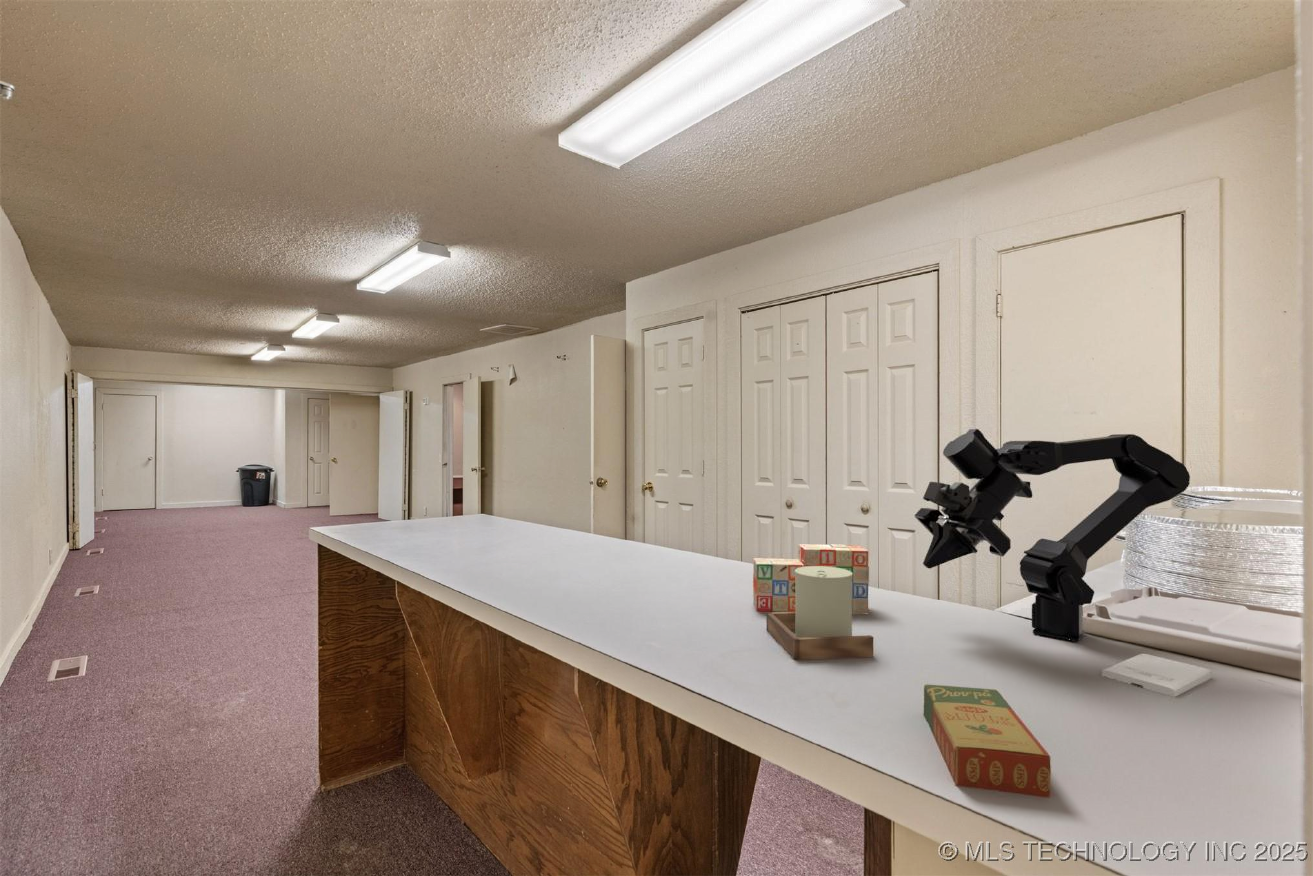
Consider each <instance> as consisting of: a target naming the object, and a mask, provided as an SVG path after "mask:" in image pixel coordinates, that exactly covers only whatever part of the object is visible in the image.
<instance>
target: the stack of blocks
mask: <svg viewBox="0 0 1313 876" xmlns="http://www.w3.org/2000/svg"><path fill="white" fill-rule="evenodd" d="M797 547H798V551H797V558H773V557H772V558H765V557H764V558H763V557H762V558H761V557H760V558H759V557H754V558H753V568H752V569H753V574H752V575H753V577H752V579H753V581H752V583H753V585H752V587H753V591H752V593H753V595H752V597H753V602H752V603H753V605H754V608H755V611H756V610H757V612H758V611H759V612H760V611H761V612H779V611H780V612H795V569H797V568H799V567H805V566H828V567H836V568H842V569H846V570H848V571H851V572H852V573H853V576H852V613H868V614H869V582H870V566H869V550H868V549H867V548H864V547H862V546H861V545H846V544H843V543H842V544H839V543H836V544H834V543H833V544H832V543H830V544H813V543H811V544H810V543H809V544H807V543H806V544H805V543H804V544H803V543H798V546H797Z"/></svg>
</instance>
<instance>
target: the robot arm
mask: <svg viewBox="0 0 1313 876" xmlns="http://www.w3.org/2000/svg"><path fill="white" fill-rule="evenodd" d="M942 455H943V456H944V457H945V458H946V460H948V461H949V462H950V463H951V464H952V465H953V467H954V468H955V469H957V471H958V472H959V473H960V474H961V475H962V476H963V477H964V478H965V479H967V480H973V479H975V480H977V481H976V483H975V484H973V486H972V487H971V489H970V485H968V484H965V483H964V482H956V481H955V482H953V483H952V484H951V485H950V484H947V483H943V482H937V481H929V483H928V486H927V488H926V489H925V492H924V495H923V497H922V500H924V501H927V502H931V503H933V504H936V505H938V506H940V507H942V508H941V509H940V510H941V511H940V510H939V509H935V508H931V507H921V508H919V510H918V511H917V512H916V513H915V514H914V518H915V519H916V520H917V521H918V522H919V523H920V524H921V525H922V526H923V527H924V528H925V529H926V530H927V531H928V532H929V533H930V534H931V535H932V539H931V543H930V544H929V548H928V550H927V553H926V555H925V557H924V560H923V562H922V565H923V566H924V567H925V568H926V569H933V568H936V567H937V566H939V565H943V564H945V563H948V562H950V561H953V560H956V559H958V558H961V557H964V556H967V555H970V554H976V553H978V551H979V550H978V549H977V546H978V545H979V544H980V543H984V541H985V542H987V543H988V544H989V552H990V553H991V554H992V555H996V556H1000V557H1003V558H1004V556H1005V555H1006V554H1007V553H1008V551H1009V550H1010V549H1011V545H1012V544H1011V543H1012V542H1011V538H1010V537H1009V536H1008V535H1007V534H1006V533H1005V532H1004V531H1003V530H1002V529H1001V528H1000V527H999V526H998V525H997V524H996V523H995V521H1002V520H1003V519H1004V517H1005V515H1004V514H1003V513H1002V511H1003V510H1004V509H1005V508H1006V507H1007V506H1008V504H1010V502H1011V501H1013V499H1014V498H1015V497H1017V498H1026V499H1031V498H1033V491H1032V489H1031V482H1030V481H1024V480H1022V478H1021V477H1019V476H1018V475H1029V476H1030V475H1031V476H1032V475H1033V476H1040V475H1044V474H1047V473H1051V472H1054V471H1057V470H1058V469H1059V468H1062V467H1063V466H1066V465H1068V464H1069V465H1070V464H1081V463H1086V462H1096V461H1103V460H1112V464H1113V466H1114V468H1115V471H1116V472H1118V473H1119V475H1120V477H1119V480H1118V489H1116V491H1115V492H1114V493H1112V494H1111V495H1110V496H1109V497H1108V498H1107V499H1105V500H1104V501H1103V502H1102V503H1100V505H1098V507H1096V508H1095V509H1094V510H1093V511H1092V512H1091V513H1090V514H1088V515H1087V516H1086V517H1085V518H1084V519H1082V520H1081V521H1080V522H1079V523H1078V524H1077V525H1076V526H1075V527H1073V528H1072V529H1071V530H1070V531H1069V532H1067V533H1066V535H1064V536H1063V537H1062V538H1060V539H1059V540H1052V539H1048V538H1047V539H1046V538H1040V539H1038V540H1037V541H1036V542H1035V543H1034V544H1033V546H1032V547H1031V548H1029V549H1027V550H1024V551H1023V554H1024V555H1023V557H1022V559H1021V560H1020V561H1019V572H1020V576H1021V577H1022V580H1023V581H1024V583H1025V585H1026V589H1027V591H1028V592H1029V593H1031V594H1036V595H1035V600H1034V602H1033V603H1032V604H1031V627H1032V634H1034V635H1039V636H1043V635H1046V636H1045V637H1049V636H1050V638H1054V637H1057V638H1056V639H1059V638H1062V639H1061V640H1064V639H1070V640H1074V641H1073V642H1075V641H1079V642H1080V641H1081V639H1082V638H1083V637H1084V636H1085V634H1086V631H1085V630H1083V606H1084V605H1090V604H1091V603H1092V601H1093V598H1094V595H1095V591H1094V589H1093V588H1091V586H1090V585H1089V584H1088V583H1087V582H1086V581H1085V580H1084V579H1083V578H1084V577H1085V575H1086V571H1087V567H1088V562H1089V559H1091V557H1092V556H1093V555H1095V554H1096V553H1097V552H1098V551H1099V550H1100V549H1102V548H1103V547H1104V546H1105V545H1106V544H1108V543H1109V542H1111V540H1112V539H1113V538H1114V537H1115V536H1117V535H1118V534H1119V533H1120V532H1121V531H1122V530H1124V529H1125V528H1126V527H1127V526H1128V525H1130V523H1131V522H1132V521H1133V520H1135V519H1136V518H1137V517H1138V516H1139V515H1141V514H1142V513H1143V512H1144V511H1145V510H1146V509H1147V508H1150V507H1153V506H1156V505H1159V504H1162V503H1165V502H1169V501H1171V500H1172V499H1174V498H1175V497H1177V496H1179V495H1181V494H1183V493H1184V492H1185V491H1186V490H1187V489H1188V487H1190V486H1189V485H1190V484H1191V483H1190V481H1191V475H1190V472H1189V471H1188V469H1187V467H1186V466H1185V464H1183V463H1182V462H1181V461H1178V460H1176V458H1174V457H1173V456H1172V455H1170V454H1169V453H1166V452H1165V451H1163V450H1161V449H1159V448H1157V447H1154V446H1152V445H1151V444H1149V443H1148V442H1146V440H1144V439H1143V438H1142V437H1141V436H1139V435H1137V434H1134V433H1133V434H1132V433H1129V434H1128V433H1127V434H1126V433H1123V434H1117V433H1116V434H1109V435H1107V436H1101V437H1100V436H1099V437H1093V438H1084V439H1083V438H1081V439H1077V440H1067V441H1066V440H1065V441H1059V442H1058V441H1057V442H1056V441H1049V440H1047V441H1046V440H1009V441H1006V442H1004V443H1003V444H1002V446H1001V448H995V447H994V446H993V444H991V442H989V440H988V439H987V438H986V437H985V435H984V433H982V431H981V430H980V429H979V428H973V429H971V428H969V429H968V431H966V433H964V434H961V435H960V436H957V437H956V438H954V439H953V440H952V441H949V442H948V443H947V444H946V445H945V447H944V448H943V450H942ZM945 515H946V516H945ZM1081 637H1082V638H1081ZM1080 638H1081V639H1080ZM1070 640H1069V641H1070Z"/></svg>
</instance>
